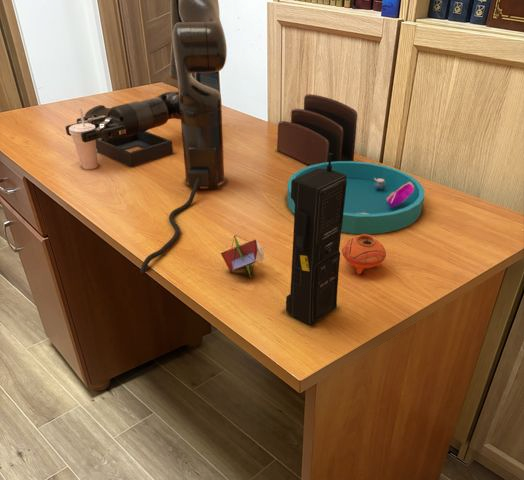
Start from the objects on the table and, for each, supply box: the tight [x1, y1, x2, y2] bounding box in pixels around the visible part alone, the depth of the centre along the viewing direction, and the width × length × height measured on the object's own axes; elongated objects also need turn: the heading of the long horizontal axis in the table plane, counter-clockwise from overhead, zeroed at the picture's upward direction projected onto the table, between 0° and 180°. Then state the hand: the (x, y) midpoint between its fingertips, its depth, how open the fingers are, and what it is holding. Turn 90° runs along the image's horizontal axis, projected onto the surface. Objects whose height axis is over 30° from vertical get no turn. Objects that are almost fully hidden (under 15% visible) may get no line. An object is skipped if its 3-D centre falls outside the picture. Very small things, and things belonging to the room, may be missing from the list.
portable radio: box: [285, 153, 347, 326], centre depth 79 cm, size 8×6×25 cm
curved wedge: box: [84, 104, 112, 117], centre depth 166 cm, size 8×14×2 cm, turn 158°
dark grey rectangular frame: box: [96, 130, 174, 168], centre depth 142 cm, size 16×14×3 cm
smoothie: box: [69, 107, 98, 170], centre depth 131 cm, size 6×6×14 cm
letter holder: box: [276, 93, 358, 166], centre depth 137 cm, size 10×20×14 cm, turn 37°
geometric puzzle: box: [220, 234, 265, 278], centre depth 95 cm, size 7×7×8 cm
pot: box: [341, 234, 387, 275], centre depth 97 cm, size 8×8×7 cm
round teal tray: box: [286, 160, 425, 235], centre depth 118 cm, size 30×30×6 cm
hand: (74, 134), depth 129 cm, fingers closed on smoothie, 6 cm apart
